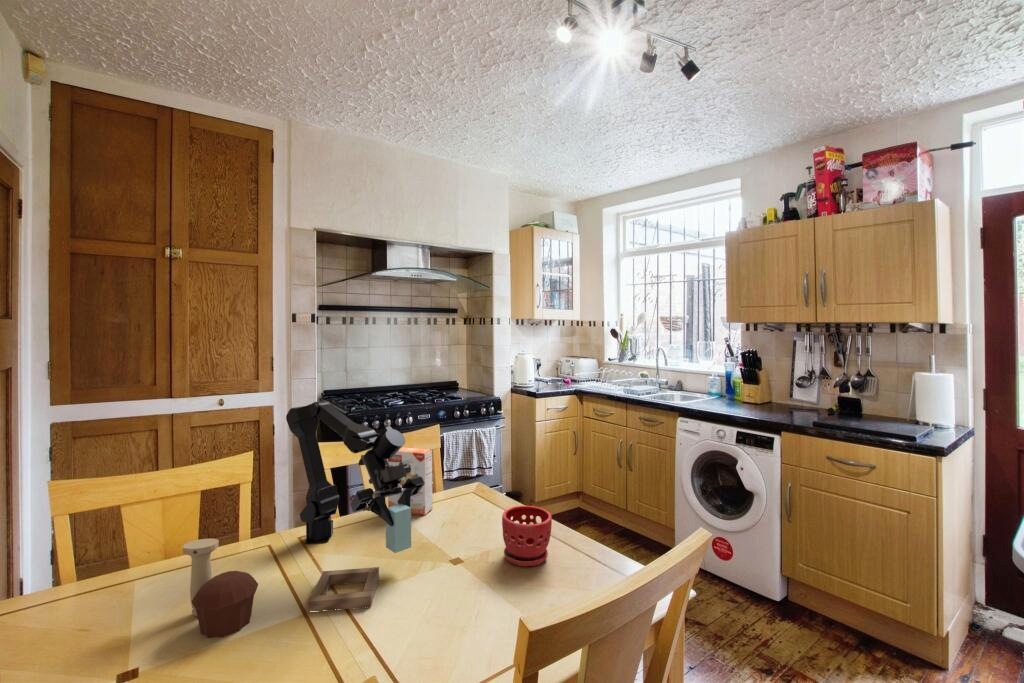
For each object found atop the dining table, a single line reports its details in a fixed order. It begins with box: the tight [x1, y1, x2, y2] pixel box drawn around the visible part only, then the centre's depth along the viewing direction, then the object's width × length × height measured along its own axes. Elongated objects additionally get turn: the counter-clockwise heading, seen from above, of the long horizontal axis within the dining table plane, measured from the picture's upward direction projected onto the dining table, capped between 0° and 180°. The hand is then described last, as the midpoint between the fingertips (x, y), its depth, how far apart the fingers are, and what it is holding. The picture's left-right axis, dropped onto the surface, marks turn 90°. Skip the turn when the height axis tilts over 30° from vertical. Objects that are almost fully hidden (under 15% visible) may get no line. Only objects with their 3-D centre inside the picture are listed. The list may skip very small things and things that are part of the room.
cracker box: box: [387, 446, 433, 516], centre depth 158 cm, size 14×6×21 cm, turn 73°
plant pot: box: [501, 505, 553, 567], centre depth 123 cm, size 13×13×12 cm
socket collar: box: [307, 566, 380, 613], centre depth 107 cm, size 13×13×2 cm
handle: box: [182, 538, 220, 617], centre depth 99 cm, size 5×6×15 cm
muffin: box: [190, 570, 259, 639], centre depth 96 cm, size 12×11×10 cm
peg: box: [385, 503, 412, 554], centre depth 117 cm, size 4×4×10 cm
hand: (401, 522), depth 116 cm, fingers closed on peg, 4 cm apart
